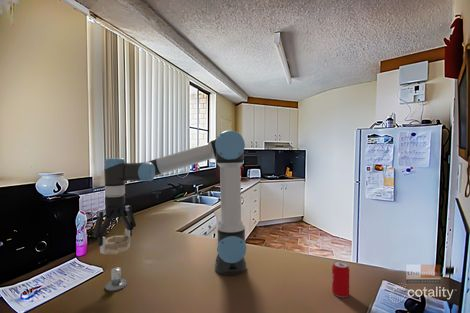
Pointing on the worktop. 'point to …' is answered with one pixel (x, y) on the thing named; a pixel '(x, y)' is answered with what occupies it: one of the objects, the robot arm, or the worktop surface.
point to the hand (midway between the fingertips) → (115, 248)
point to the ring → (117, 244)
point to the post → (115, 280)
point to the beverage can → (340, 279)
